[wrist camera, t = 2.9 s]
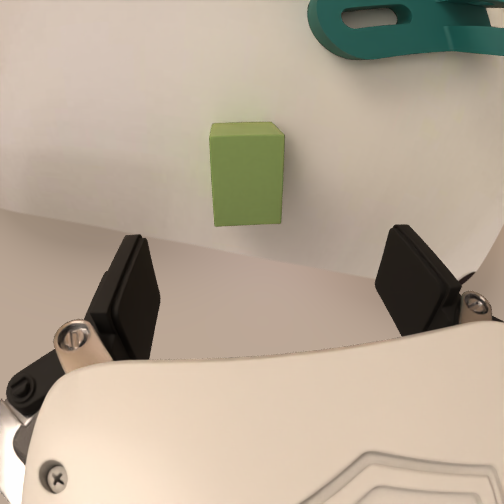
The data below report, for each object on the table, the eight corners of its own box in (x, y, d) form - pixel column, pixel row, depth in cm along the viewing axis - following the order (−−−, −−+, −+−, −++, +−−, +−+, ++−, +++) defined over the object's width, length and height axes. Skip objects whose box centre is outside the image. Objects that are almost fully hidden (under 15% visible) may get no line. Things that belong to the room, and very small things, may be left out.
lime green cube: (215, 197, 23) (214, 227, 19) (211, 123, 20) (208, 136, 16) (270, 194, 24) (281, 224, 20) (271, 121, 20) (285, 134, 16)
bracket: (463, -12, 12) (521, -15, 6) (481, 49, 16) (540, 59, 9) (294, -10, 14) (329, -46, 8) (324, 67, 18) (373, 67, 12)
